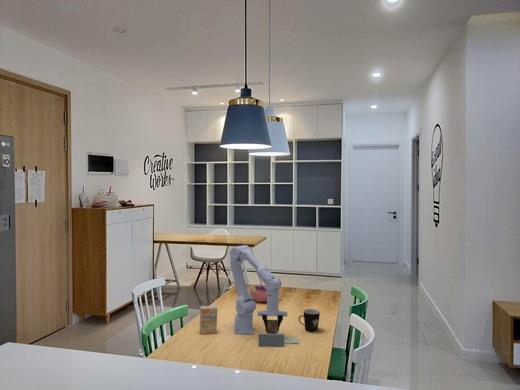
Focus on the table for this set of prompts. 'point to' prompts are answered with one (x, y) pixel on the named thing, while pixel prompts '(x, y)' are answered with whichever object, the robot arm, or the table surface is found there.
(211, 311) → the supplement box
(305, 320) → the coffee mug
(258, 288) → the cell model
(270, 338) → the screen
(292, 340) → the pad
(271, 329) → the walnut block
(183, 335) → the table surface
